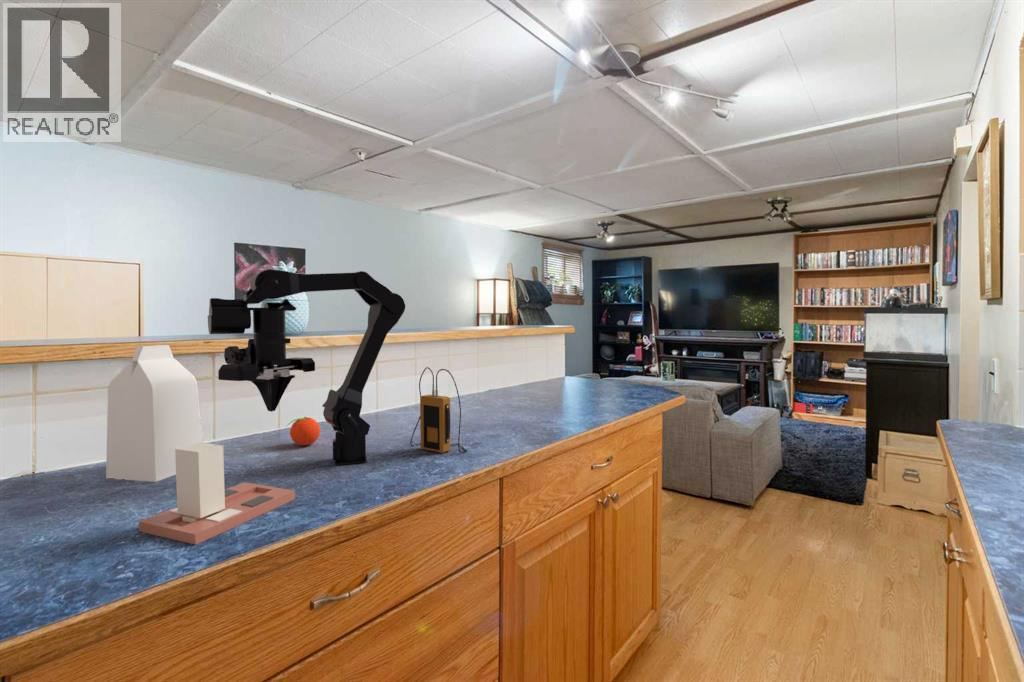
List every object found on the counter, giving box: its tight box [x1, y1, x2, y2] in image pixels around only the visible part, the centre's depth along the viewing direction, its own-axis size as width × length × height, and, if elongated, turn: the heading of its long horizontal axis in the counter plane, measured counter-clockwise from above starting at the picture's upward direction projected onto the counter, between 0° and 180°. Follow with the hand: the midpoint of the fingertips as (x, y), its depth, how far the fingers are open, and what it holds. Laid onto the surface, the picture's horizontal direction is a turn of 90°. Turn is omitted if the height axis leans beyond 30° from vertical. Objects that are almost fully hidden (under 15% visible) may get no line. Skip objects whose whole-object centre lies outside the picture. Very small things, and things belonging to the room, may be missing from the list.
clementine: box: [286, 416, 321, 447], centre depth 119 cm, size 8×7×7 cm
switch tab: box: [175, 442, 225, 523], centre depth 74 cm, size 4×5×11 cm
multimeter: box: [410, 366, 468, 454], centre depth 117 cm, size 15×10×20 cm
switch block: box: [138, 481, 296, 546], centre depth 78 cm, size 18×12×2 cm, turn 159°
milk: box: [105, 344, 204, 483], centre depth 99 cm, size 12×12×26 cm
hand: (271, 411), depth 96 cm, fingers closed
